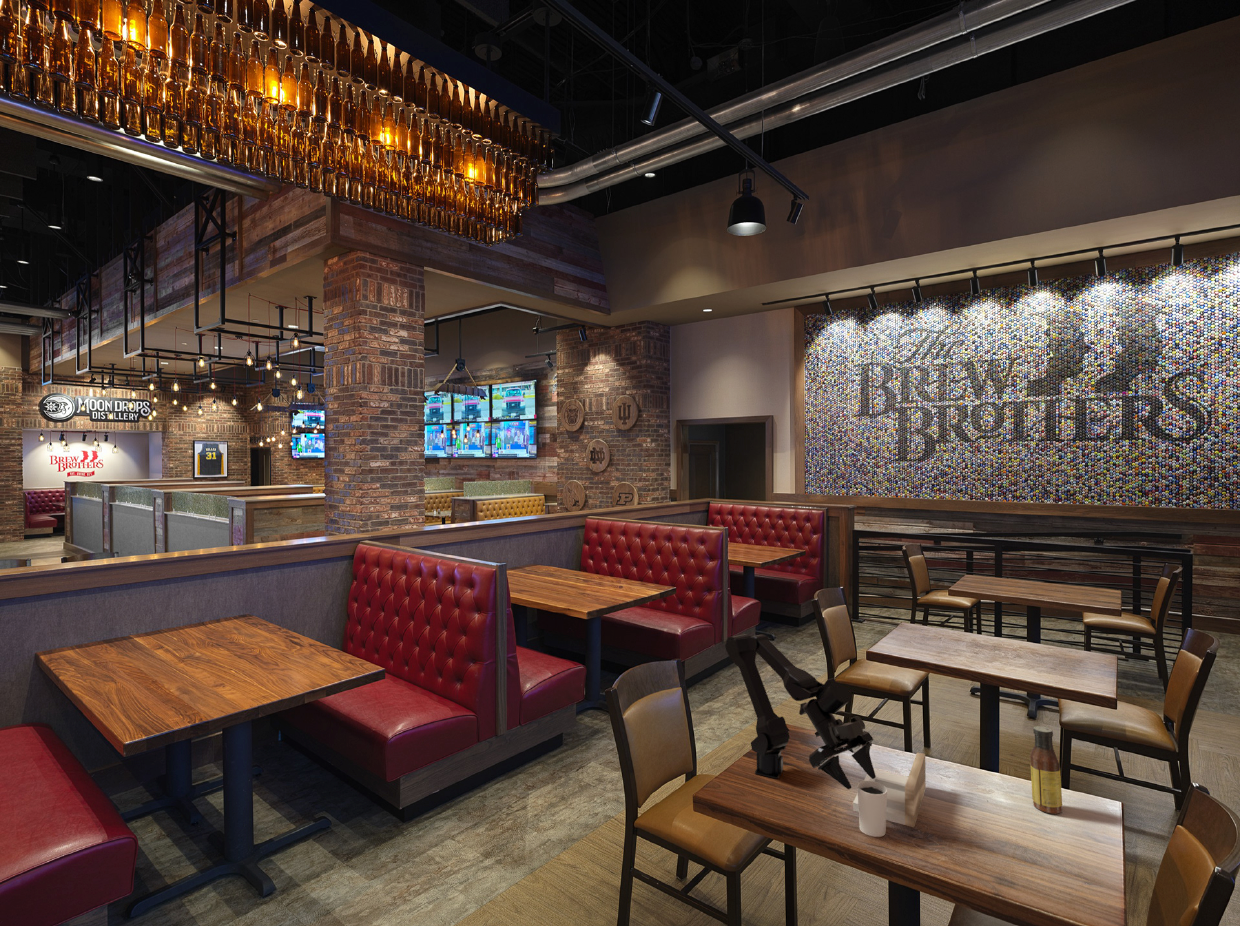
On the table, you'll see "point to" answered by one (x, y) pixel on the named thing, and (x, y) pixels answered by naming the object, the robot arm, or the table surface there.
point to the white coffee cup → (872, 808)
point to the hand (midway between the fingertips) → (862, 783)
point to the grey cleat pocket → (890, 794)
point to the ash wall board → (915, 790)
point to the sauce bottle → (1045, 773)
